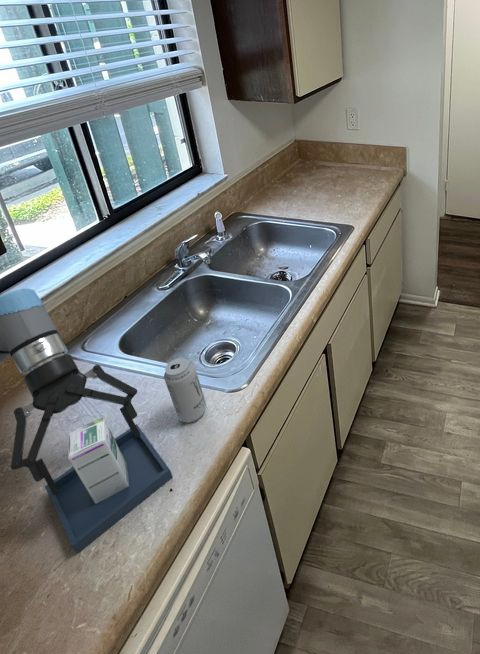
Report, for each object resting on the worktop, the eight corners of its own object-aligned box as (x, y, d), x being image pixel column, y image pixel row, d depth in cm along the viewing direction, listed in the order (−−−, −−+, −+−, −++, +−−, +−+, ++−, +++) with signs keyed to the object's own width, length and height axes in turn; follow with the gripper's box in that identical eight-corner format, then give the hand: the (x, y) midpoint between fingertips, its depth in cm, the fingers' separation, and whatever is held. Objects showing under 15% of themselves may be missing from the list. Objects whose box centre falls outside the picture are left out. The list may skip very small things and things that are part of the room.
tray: (49, 494, 84) (44, 486, 83) (139, 431, 96) (136, 423, 95) (77, 554, 75) (71, 546, 74) (172, 477, 87) (169, 469, 86)
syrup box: (129, 487, 85) (106, 438, 79) (94, 506, 82) (67, 457, 76) (127, 463, 89) (105, 415, 83) (92, 480, 86) (67, 432, 80)
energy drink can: (205, 420, 98) (190, 373, 92) (176, 428, 97) (159, 380, 90) (208, 398, 103) (194, 352, 97) (181, 405, 102) (164, 358, 95)
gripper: (-46, 407, 72) (13, 523, 70) (118, 324, 90) (169, 414, 87) (-37, 411, 78) (17, 518, 75) (116, 331, 95) (164, 417, 93)
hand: (99, 463), depth 81 cm, fingers open, 13 cm apart
